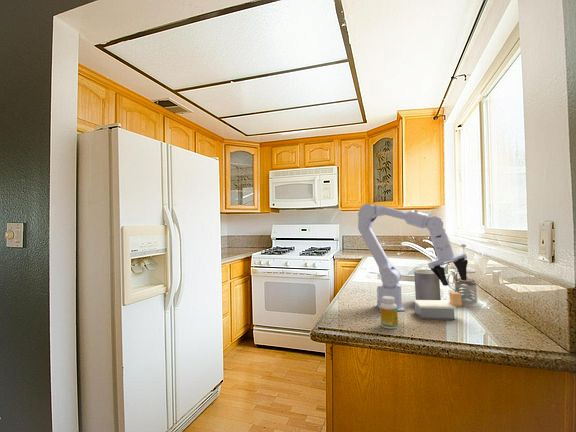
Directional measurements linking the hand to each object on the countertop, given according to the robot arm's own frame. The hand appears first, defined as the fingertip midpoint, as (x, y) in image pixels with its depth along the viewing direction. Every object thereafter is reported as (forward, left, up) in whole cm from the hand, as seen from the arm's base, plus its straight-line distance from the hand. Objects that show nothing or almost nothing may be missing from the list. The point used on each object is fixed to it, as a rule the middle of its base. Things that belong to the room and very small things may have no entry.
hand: (455, 282), depth 105 cm
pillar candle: (-5, +16, -12) cm, 21 cm away
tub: (-8, -1, -12) cm, 15 cm away
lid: (-7, -1, -8) cm, 10 cm away
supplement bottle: (-26, -13, -12) cm, 32 cm away
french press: (+10, +18, -12) cm, 24 cm away
